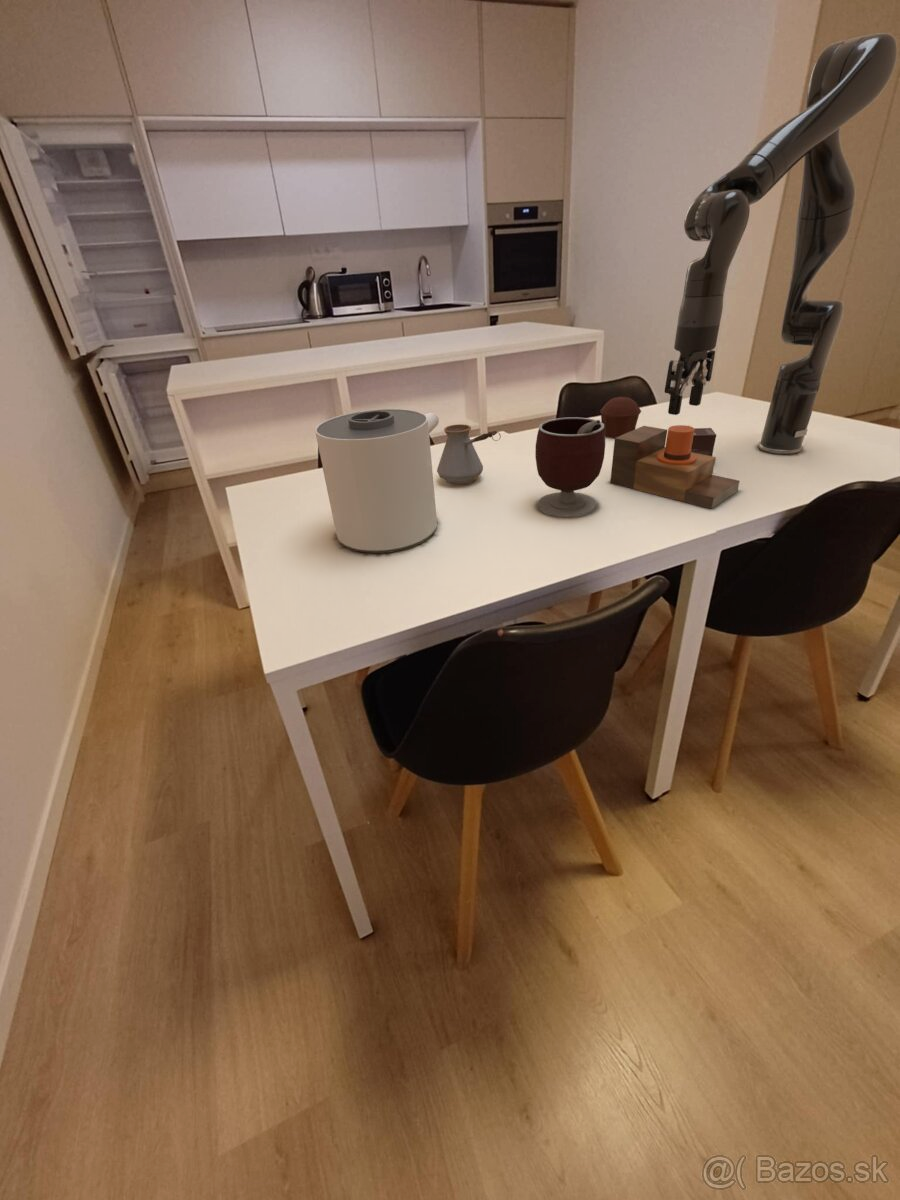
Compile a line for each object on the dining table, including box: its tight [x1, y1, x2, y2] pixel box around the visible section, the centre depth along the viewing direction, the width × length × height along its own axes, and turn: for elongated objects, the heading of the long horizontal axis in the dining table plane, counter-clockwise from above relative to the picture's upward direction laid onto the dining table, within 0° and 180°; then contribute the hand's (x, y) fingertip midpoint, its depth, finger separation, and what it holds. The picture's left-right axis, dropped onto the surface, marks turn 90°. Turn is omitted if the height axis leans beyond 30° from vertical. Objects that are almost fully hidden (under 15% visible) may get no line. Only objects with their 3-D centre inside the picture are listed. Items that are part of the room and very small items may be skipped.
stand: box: [609, 425, 741, 510], centre depth 116 cm, size 12×24×10 cm, turn 42°
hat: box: [657, 424, 697, 465], centre depth 113 cm, size 8×8×7 cm
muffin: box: [599, 396, 642, 439], centre depth 152 cm, size 12×11×10 cm
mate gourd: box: [534, 416, 606, 518], centre depth 108 cm, size 16×14×20 cm
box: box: [691, 427, 717, 456], centre depth 129 cm, size 6×6×7 cm
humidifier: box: [314, 408, 440, 554], centre depth 104 cm, size 22×21×23 cm
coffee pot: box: [436, 423, 502, 486], centre depth 124 cm, size 21×12×15 cm, turn 33°
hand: (684, 409), depth 110 cm, fingers open, 8 cm apart
